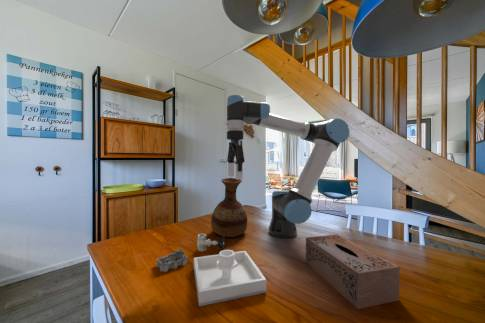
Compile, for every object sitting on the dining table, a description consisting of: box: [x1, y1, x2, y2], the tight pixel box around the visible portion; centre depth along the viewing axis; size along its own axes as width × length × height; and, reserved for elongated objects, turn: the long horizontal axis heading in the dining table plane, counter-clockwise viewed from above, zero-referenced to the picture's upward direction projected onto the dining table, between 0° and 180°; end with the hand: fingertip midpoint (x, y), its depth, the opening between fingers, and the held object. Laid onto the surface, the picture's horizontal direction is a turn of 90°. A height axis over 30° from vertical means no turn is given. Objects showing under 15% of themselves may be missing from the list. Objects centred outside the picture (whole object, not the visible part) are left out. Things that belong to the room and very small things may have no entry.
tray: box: [193, 250, 267, 307], centre depth 68 cm, size 20×20×4 cm
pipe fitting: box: [216, 249, 237, 279], centre depth 69 cm, size 6×7×8 cm
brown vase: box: [210, 177, 248, 238], centre depth 111 cm, size 20×20×30 cm
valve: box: [196, 233, 226, 252], centre depth 90 cm, size 7×7×12 cm
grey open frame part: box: [155, 248, 189, 273], centre depth 78 cm, size 11×8×4 cm
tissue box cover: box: [305, 233, 401, 310], centre depth 70 cm, size 26×14×10 cm, turn 15°
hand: (234, 177), depth 93 cm, fingers open, 13 cm apart
